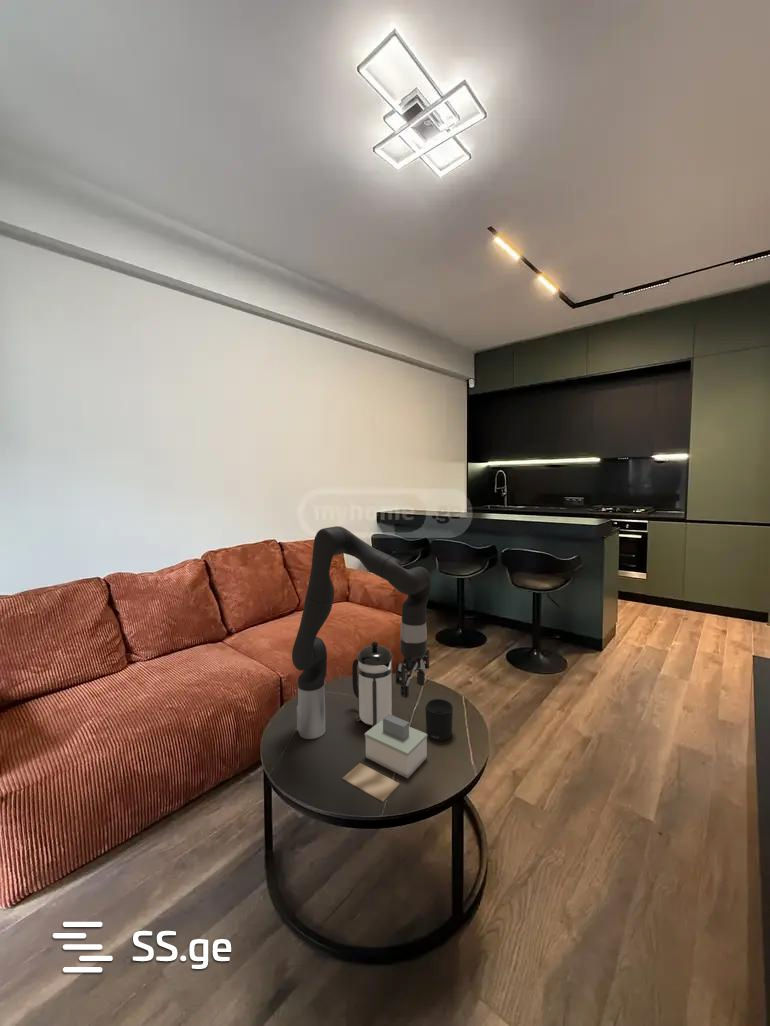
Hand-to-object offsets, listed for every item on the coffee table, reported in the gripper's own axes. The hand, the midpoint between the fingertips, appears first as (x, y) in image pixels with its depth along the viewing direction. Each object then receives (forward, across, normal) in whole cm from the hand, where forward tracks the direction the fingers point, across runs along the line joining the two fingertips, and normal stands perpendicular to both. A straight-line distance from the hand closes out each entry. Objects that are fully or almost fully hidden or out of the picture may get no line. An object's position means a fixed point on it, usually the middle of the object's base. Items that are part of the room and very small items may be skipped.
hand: (412, 690), depth 119 cm
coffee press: (+28, -16, -28) cm, 43 cm away
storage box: (+27, -5, -9) cm, 29 cm away
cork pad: (+27, +8, -9) cm, 30 cm away
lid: (+22, -5, -9) cm, 24 cm away
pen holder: (+28, -24, -4) cm, 36 cm away
